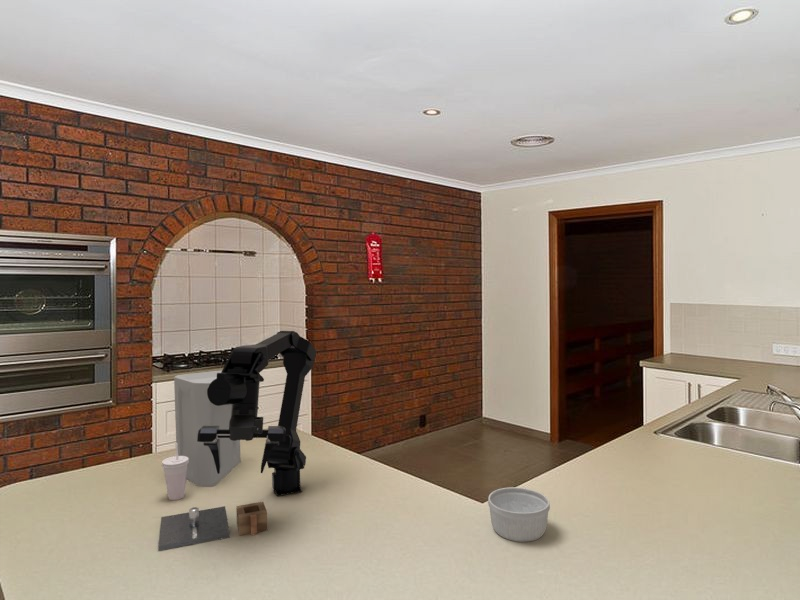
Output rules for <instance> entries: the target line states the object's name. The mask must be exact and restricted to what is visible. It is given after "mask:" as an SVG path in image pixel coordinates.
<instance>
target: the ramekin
mask: <svg viewBox="0 0 800 600" xmlns="http://www.w3.org/2000/svg"><path fill="white" fill-rule="evenodd" d="M487 499H488V500H487V505H488V507H489V515H490V516H489V517H490V522H491V526H492V528H493V530H494V531H495V533H497V535H499V536H501V538H503V539H505V540H506V539H507V540H509V541H512V542H513V541H514V542H521V543H526V542H534V541H536V540H539V539H540V538H541V537H542V536H543V535H544V534H545V532H547V531H546V530H547V525H548V520H549V519H548V518H549V512H550V510H551V509H550V508H551V504H550V500H549V498H548V497H547V496H545V495H544V494H543V493H541V492H539V491H537V490H533V489H531V488H527V487H525V488H524V487H519V486H518V487H516V486H514V487H509V486H508V487H503V488H498V489H496V490H493V491H491V493H489V495H488V497H487Z"/></svg>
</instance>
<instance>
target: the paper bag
mask: <svg viewBox="0 0 800 600" xmlns="http://www.w3.org/2000/svg"><path fill="white" fill-rule="evenodd" d="M222 370H223V369H221V370H214V371H204V372H196V373H194V372H193V373H185V374H177V375H175V376H174V377H173V379H174V380H173V381H174V383H173V384H174V413H175V416H174V417H175V418H174V420H175V442H176V443H178V456H186V457H188V458H189V463H188V464H187V474H186V481H188V482H190V483H191V484H193V485H195V486H196V487H210V488H211V487H215V486H217V485H218V483H220V482H221V481H222V480H223V479H224V478H225V477H226V476H227V475H229V473H231V472H232V471H233V469H235V468H236V467H237V466H238V465H239V464H240V463H241V440H236V441H232V440H230V438H218V439H220V462H221V467H220V474H218V473H217V469H216V465H215V462H214V458H213V455H212V452H211V450H210V448H209V447H208V446H204V444H203V443H204V442H197V438H198V431H199V430H200V429H201V428H202V427H203V426H219V429H229V422H230V419H231V410H232V404H229V405H221V406H216V405H214V404H212V403H211V402H210V401H209V399H208V396H207V389H208V387H209V385H210V383H211V382H212V381H213V380H215V379H217V373H221V372H222ZM176 443H175V444H176Z"/></svg>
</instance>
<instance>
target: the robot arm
mask: <svg viewBox="0 0 800 600" xmlns="http://www.w3.org/2000/svg"><path fill="white" fill-rule="evenodd" d="M279 354H280V355H281V356H282V365H283V368H284V369H285V372H286V378H285V383H284V387H283V388H284V389H283V394H282V395H283V396H282V401H281V407H280V412H279V418H278V424H277V425H268V426H267V427H268V428H267V429H264V416H258V410H259V398H260V397H259V395H260V383H261V382H262V383H263V382H264V381H265V379H264V377H263V376H262V375H261V374H260V373H261V372H262V371H263V370H265V368H267V367H268V365H269V360H271V359H272V358H274V357H276V356H277V355H279ZM316 357H317V350H316V348H315V347H314V345H313V344H312V342H311V341H309V339H306V338H304V337H303V336H300V334H299V333H298V331H294V330H280V331H277V332H276V334H273V335H272V336H270V337H268V338H265V339H264V340H262V341H259V342H258V343H255V344H247V345H246V344H245V345H240V346H239V345H238V346H236V347H234V348H233V349H232V351H231V353H230V354H229V356H228V358H227V360H226V362H225V364H224V366H223V368H222V369H221V370H222V372H221V373H217V379H215V380H213V381H212V382H211V383H210V385H209V387H208V389H207V396H208V399H209V401H210V402H211V403H212V404H214V405H216V406H221V405H229V404H232V410H231V419H230V422H229V429H219V426H203V427H202V428H201V429H200V430H199V431H198V438H197V442H204V443H203V444H204V446H208V447H209V448H210V450H211V452H212V455H213V458H214V462H215V465H216V469H217V473H218V474H220V467H221V462H220V439H218V438H230V440H232V441H236V440H240V441H247V442H248V441H250V442H251V441H252V440H254V439H265V444H264V449H263V455H262V458H261V465H260V474H263V472H264V470H265V467H266V465H267V466H268V467H267V468H268V469H273V471H272V473H271V484H272V486H271V487H272V490H273V492H275V494H276V496H277V497H278V496H284V495H291V494H295V493H301V492H303V490H302V487H301V470H303V469H305V466H306V462H307V456H306V455H305V454H304V452H303V451H302V449H301V440H300V437H299V435H298V432H297V427H298V421H299V416H300V410H301V409H300V408H301V403H302V396H303V391H304V385H305V378H306V377H307V375H308V374H309V373H310V372H311V370H312V369H313V367H314V362H315V359H316Z"/></svg>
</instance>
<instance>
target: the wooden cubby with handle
mask: <svg viewBox="0 0 800 600" xmlns="http://www.w3.org/2000/svg"><path fill="white" fill-rule="evenodd" d="M235 508H236V527H237V531H238V534H239V536H244V535H248V534H250V536H254V535H258V532H264V531H268V511H267V508H266V505H265V502H264V501H258V502H253V503H248V504H242V505H241V504H240V505H236V507H235Z"/></svg>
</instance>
